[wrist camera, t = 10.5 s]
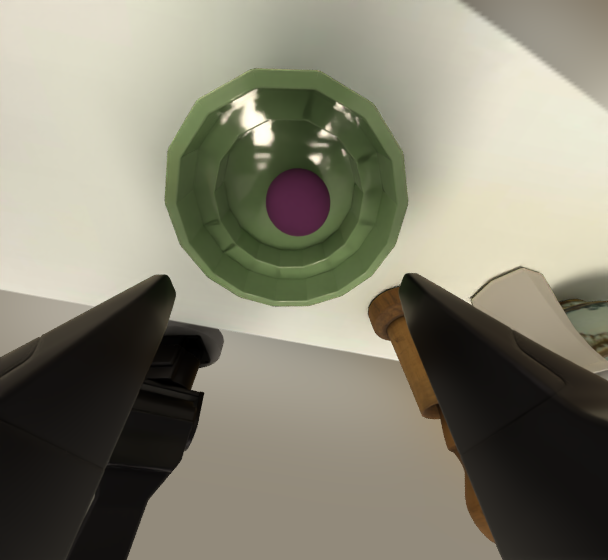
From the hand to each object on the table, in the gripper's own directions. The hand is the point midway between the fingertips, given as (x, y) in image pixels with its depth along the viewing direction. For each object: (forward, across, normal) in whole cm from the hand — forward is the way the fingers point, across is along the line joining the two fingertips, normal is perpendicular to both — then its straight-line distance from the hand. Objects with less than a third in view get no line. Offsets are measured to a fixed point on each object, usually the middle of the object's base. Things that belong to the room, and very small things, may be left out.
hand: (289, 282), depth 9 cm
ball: (+9, 0, 0) cm, 9 cm away
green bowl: (+11, 0, 0) cm, 11 cm away
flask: (+12, -24, +11) cm, 29 cm away
